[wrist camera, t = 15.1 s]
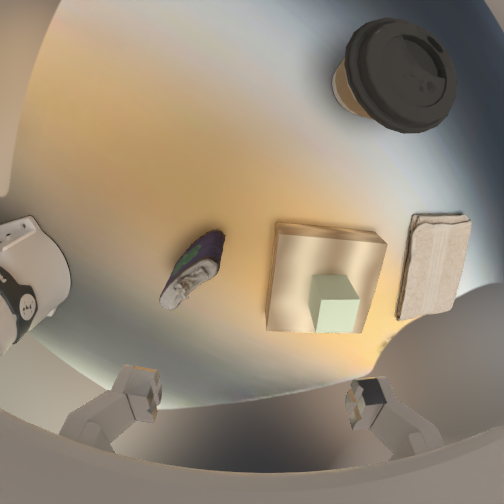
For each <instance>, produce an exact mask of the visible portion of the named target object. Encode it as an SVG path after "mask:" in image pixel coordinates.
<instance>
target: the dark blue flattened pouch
mask: <svg viewBox="0 0 504 504" xmlns="http://www.w3.org/2000/svg"><path fill="white" fill-rule="evenodd" d="M225 236H226V235H224V234H223V233H222V232H221V231H219V230H212V231H210V232H208V233H207V234H205V235H203V236H201V237H200V238H199V239H197V240H196V241H195V242H194V243H193V244H192V245H191V246H190V248H189V249H188V250H187V251H186V252H185V253H184V254H183V256H181V258H180V259H179V260H178V262H177V264H176V265H175V267H174V270H173V272H172V273H171V276H170V278H169V280H168V282H167V284H166V286H165V288H164V290H163V291H162V294H161V295H160V299H159V302H160V304H161V306H162V307H163V308H165V309H168V310H173V309H175V308H176V307H178V305H179V304H180V303H181V301H182V300H183V299H188V298H189V296H187V295H188V294H189V293H190V292H191V291H192V290H193V289H195V288H196V287H197V286H198V285H200V284H201V283H203V282H205V281H207V280H209V279H211V278H212V277H214V276H215V275H216V274H217V272H218V271H219V268H220V261H221V256H222V251H223V244H224V241H225Z"/></svg>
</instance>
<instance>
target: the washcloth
mask: <svg viewBox="0 0 504 504" xmlns="http://www.w3.org/2000/svg"><path fill="white" fill-rule="evenodd" d="M471 226H472V225H471V220H470V219H469V218H468V217H467V216H466V215H465V214H464V215H460V216H459V215H456V214H440V215H436V214H435V215H434V214H422V215H413V217H412V223H411V225H410V227H409V233H408V238H407V242H406V250H405V257H404V264H403V270H402V277H401V283H400V290H399V295H398V299H397V304H396V310H395V316H396V320H397V321H400V320H401V321H403V320H407V319H411V318H415V317H417V316H420V315H424V314H427V313H428V314H436V313H441V312H445V311H449V310H450V309H451V308H452V307H453V303H454V300H455V297H456V291H457V289H458V285H459V281H460V278H461V274H462V272H463V271H462V270H463V266H464V261H465V257H466V251H467V247H468V241H469V237H470V233H471Z"/></svg>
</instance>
